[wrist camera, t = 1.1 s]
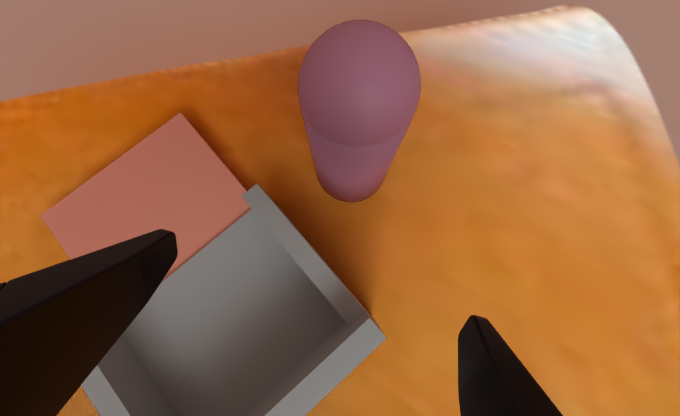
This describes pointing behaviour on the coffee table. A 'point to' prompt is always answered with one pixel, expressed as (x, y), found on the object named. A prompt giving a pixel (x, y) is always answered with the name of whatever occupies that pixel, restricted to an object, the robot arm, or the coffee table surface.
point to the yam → (357, 104)
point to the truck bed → (213, 290)
